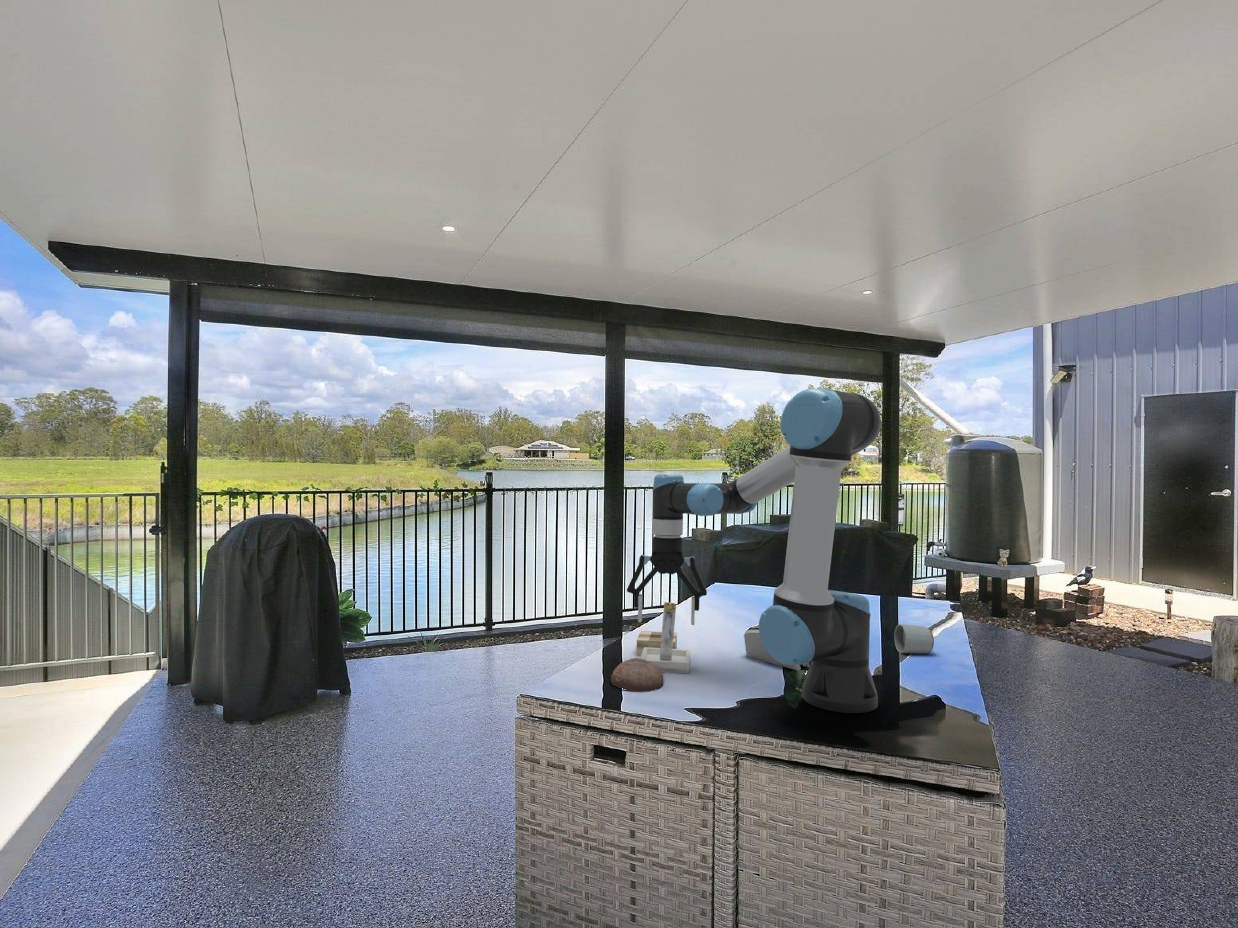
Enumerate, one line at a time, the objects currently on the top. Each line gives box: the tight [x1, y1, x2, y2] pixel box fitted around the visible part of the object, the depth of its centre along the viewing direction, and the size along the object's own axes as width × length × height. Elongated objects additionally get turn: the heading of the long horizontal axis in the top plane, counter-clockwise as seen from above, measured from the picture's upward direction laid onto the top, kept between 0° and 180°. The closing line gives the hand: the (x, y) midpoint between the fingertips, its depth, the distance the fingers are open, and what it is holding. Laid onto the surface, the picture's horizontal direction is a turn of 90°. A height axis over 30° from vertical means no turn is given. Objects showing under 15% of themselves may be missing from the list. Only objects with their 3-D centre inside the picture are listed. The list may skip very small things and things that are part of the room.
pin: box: [659, 601, 677, 661], centre depth 163 cm, size 3×3×14 cm
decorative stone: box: [610, 657, 665, 692], centre depth 148 cm, size 12×12×6 cm
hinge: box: [743, 625, 810, 672], centre depth 167 cm, size 17×5×10 cm, turn 38°
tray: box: [639, 647, 691, 675], centre depth 163 cm, size 12×12×2 cm
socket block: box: [636, 630, 678, 657], centre depth 175 cm, size 10×10×4 cm
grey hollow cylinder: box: [893, 623, 935, 655], centre depth 180 cm, size 11×8×8 cm
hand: (666, 622), depth 163 cm, fingers open, 12 cm apart
